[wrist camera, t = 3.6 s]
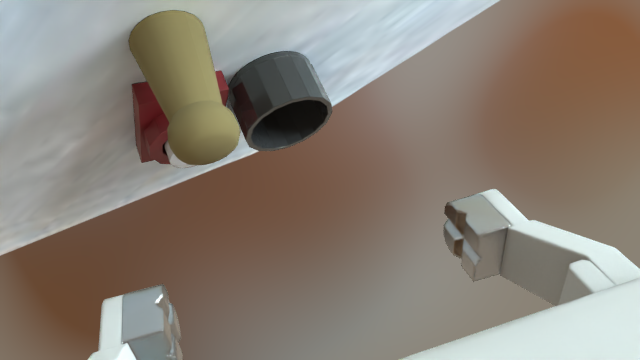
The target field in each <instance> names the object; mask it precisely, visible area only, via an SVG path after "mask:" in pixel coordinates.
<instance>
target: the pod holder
mask: <svg viewBox="0 0 640 360" xmlns="http://www.w3.org/2000/svg"><path fill="white" fill-rule="evenodd" d="M228 97H229V101H230V103H231V105H232V108H233V110H234V113H235V115H236V118H237V120H238V122H239V125H240V127H241V130H242V132H243V135H244V137H245V139H246V141H247V143H248V145H249V147H251V148H253V149H256V150H258V151H275V150H279V149H283V148H287V147H290V146H293V145H295V144H297V143H300V142H302V141H304V140H306V139H307V138H309V137H310V136H312V135H314V134H315V133H316V132H318V131H319V130H320V129H321V128H322V127H323V126H324V125H325V124H326V123H327V121H328V120H329V118H330V116H331V114H332V105H331V102H330V100H329V98H328V96H327V94H326V92H325V90H324V88H323V86H322V84H321V82H320V80H319V78H318V76H317V74H316V72H315V70H314V68H313V66H312V64H310V62H309V60H308V59H307V58H306V57H305V56H304V55H302V54H300V53H296V52H290V51H284V52H276V53H272V54H268V55H265V56H262V57H260V58H258V59H256V60H254V61H252V62H250V63H249V64H247V65H246V66H245V67H243V68H242V69H241V70H240V71H239V72H238V73H237V74H236V75H235V76H234V77H233V79H232V81H231V82H230V85H229V92H228Z"/></svg>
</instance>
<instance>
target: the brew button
mask: <svg viewBox="0 0 640 360" xmlns="http://www.w3.org/2000/svg"><path fill="white" fill-rule="evenodd" d="M164 146H165V150H166V153H167V156H168V159H169V161H170V164H171V165H172V166H174V167H177V168H189V167H193V166H197V165H189V164H186V163H184V162H182V161H181V160H179V159H178V158H177V157H176V156H175V155H174V153H173V152H172V150H171V149H170V146H169V143H168V140H167V141H166V142H165V145H164Z"/></svg>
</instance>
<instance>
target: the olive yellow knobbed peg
mask: <svg viewBox="0 0 640 360" xmlns="http://www.w3.org/2000/svg"><path fill="white" fill-rule="evenodd" d="M129 47H130V50H131V52H132V54H133V56H134V58H135V60H136V62H137V63H138V65H139V67H140V69H141V71H142V73H143V75H144V76H145V78H146V80H147V82H148V84H149V86H150V88H151V90H152V91H153V93H154V95H155V97H156V99H157V101H158V103H159V104H160V106H161V108H162V110H163V112H164V114H165V116H166V118H167V119H168V121H169V126H168V128H167V134H168V143H169V146H170V149H171V150H172V152H173V153H174V155H175V156H176V157H177V158H178V159H179V160H181V161H182V162H184V163H186V164H189V165H206V164H210V163H214V162H216V161H219V160H221V159H223V158H224V157H226V156H227V155H229V154H230V153H231V152H232V151H233V150H234V149H235V148H236V146H237V145H238V141H239V136H240V129H239V125H238V123H237V120H236V118H235V116H234V114H233V113H232V112H231V111H230V109H228V108H227V107H225V106H224V105H223V104H222V99H221V95H220V91H219V87H218V83H217V78H216V74H215V70H214V66H213V62H212V58H211V53H210V49H209V45H208V41H207V37H206V33H205V29H204V26H203V24H202V22H201V21H200V20H199V19H198V18H197V17H196V16H195V15H192V14H190V13H187V12H185V11H175V10H171V11H164V12H159V13H156V14H153V15H151V16H148V17H147V18H145V19H144V20H142V21H141V22H139V23H138V24H137V25H136V27H135V28H134V29H133V30H132V32H131V34H130V38H129Z"/></svg>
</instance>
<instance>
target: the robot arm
mask: <svg viewBox="0 0 640 360" xmlns="http://www.w3.org/2000/svg"><path fill="white" fill-rule="evenodd" d="M444 214H445V215H446V216H447V217H448V220H447V221H446V223H445V224H444V237H445V241H446V244H447V246H448V248H449V250H450V251H451V253H452V254H453V255H454V256H456V257H459V258H461V259H462V263H461V266H462V267H463V269H464V270H465V271H466V273H467V274H468V275H469V276H470V278H471V279H472V281H473V282H474V281H478V280H481V279H485V278H488V277H491V276H495V275H498V274H500V276H502V277H504V278H506V279H508V280H510V281H512V282H513V283H515V284H517V285H519V286H520V287H522V288H524V289H526V290H528V291H529V292H532V293H533V294H535V295H537V296H539V297H540V298H542V299H544V300H546V301H548V302H549V303H551V304H553V305H555V307H551V308H549V309H546V310H543V311H540V312H537V313H534V314H531V315H528V316H525V317H522V318H519V319H516V320H513V321H511V322H507V323H504V324H501V325H498V326H496V327H493V328H490V329H487V330H484V331H481V332H478V333H475V334H472V335H469V336H466V337H463V338H460V339H457V340H454V341H452V342H449V343H446V344H443V345H440V346H437V347H434V348H431V349H428V350H425V351H422V352H419V353H416V354H413V355H411V356H407V357H405V358H402V359H399V360H640V269H639V268H638V267H636V266H635V265H634V264H633V263H632V262H631V261H630V260H629V259H627V258H626V257H625V256H624V255H623V254H622V253H620V252H619V251H618V250H617V249H616V248H614V247H611V246H608V245H605V244H602V243H599V242H596V241H594V240H591V239H588V238H585V237H582V236H579V235H576V234H573V233H570V232H567V231H564V230H562V229H558V228H556V227H553V226H550V225H547V224H544V223H541V222H538V221H535V220H532V221H529V220H528V219H526V218H525V217H524V216H523V215H522V214H521V213H520V212H519V211H518V210H517V209H516V208H515V207H514V206H513V205H512V204H511V203H510V202H509V201H508V200H507V199H506V198H505V197H504V196H503V195H502V194H501V193H500V192H499V191H498V190H496V189H491V190H488V191H485V192H481V193H478V194H475V195H471V196H468V197H465V198H462V199H458V200H455V201H451V202H448V203H447V204H446V206H445V213H444ZM180 339H181V335H180V327H179V322H178V318H177V315H176V311H175V309H174V307H173V305H172V304H170V303H169V299H168V292H167V290H166V288H165V286H164V285H163V284H162V285H158V286H153V287H150V288H146V289H142V290H138V291H134V292H130V293H127V294H124V295H121V296H117V297H114V298H109V299H105V300H104V302H103V304H102V310H101V323H100V337H99V351H98V352H95V353H93V354H92V355H91V356H90V357H89V359H88V360H183V356H182V351H181V349H180V346H179V344H178V343H179V341H180Z"/></svg>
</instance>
